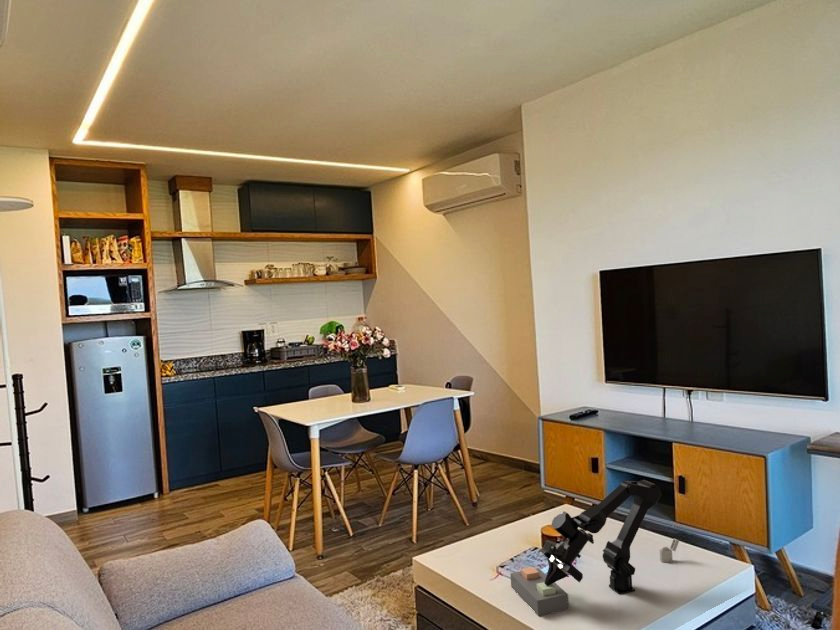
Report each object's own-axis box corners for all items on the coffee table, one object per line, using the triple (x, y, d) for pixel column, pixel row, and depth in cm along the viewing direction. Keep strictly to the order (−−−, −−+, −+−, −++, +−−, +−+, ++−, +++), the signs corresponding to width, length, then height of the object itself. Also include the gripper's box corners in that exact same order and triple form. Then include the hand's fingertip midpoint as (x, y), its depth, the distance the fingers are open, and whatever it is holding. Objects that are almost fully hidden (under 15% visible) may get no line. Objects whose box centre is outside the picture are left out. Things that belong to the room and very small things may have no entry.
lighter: (662, 562, 224) (661, 541, 224) (660, 560, 225) (658, 539, 225) (680, 560, 224) (679, 539, 224) (677, 558, 226) (676, 537, 226)
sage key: (549, 597, 200) (548, 581, 200) (556, 603, 195) (555, 587, 195) (537, 600, 199) (536, 583, 199) (543, 606, 194) (542, 589, 194)
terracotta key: (533, 582, 211) (532, 566, 211) (539, 587, 207) (538, 572, 207) (521, 584, 210) (521, 569, 210) (527, 590, 206) (526, 574, 206)
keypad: (539, 581, 214) (538, 568, 214) (568, 609, 194) (568, 594, 194) (511, 587, 212) (510, 573, 211) (538, 616, 191) (537, 600, 191)
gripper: (543, 522, 207) (516, 559, 204) (572, 541, 189) (543, 582, 186) (564, 541, 210) (538, 578, 207) (595, 561, 192) (567, 602, 189)
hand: (545, 584), depth 197 cm, fingers closed, pressing on sage key
